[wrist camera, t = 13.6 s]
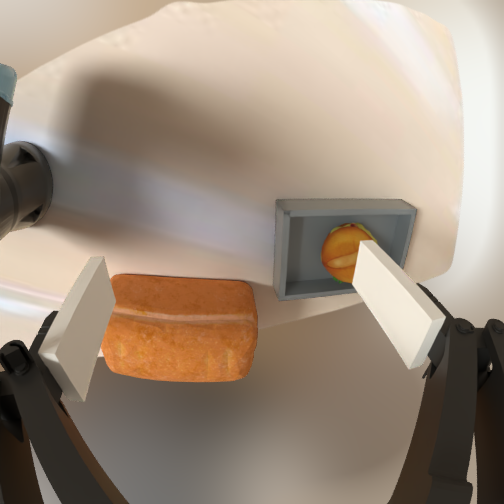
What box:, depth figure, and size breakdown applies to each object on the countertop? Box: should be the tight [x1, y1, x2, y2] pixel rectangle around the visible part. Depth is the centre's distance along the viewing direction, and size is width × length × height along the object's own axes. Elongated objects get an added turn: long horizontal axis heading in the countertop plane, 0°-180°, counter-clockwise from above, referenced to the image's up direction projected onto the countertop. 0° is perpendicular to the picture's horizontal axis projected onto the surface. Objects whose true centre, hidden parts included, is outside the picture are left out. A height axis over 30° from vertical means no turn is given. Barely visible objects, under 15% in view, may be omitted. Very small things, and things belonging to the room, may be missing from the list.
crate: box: [273, 199, 417, 301], centre depth 50 cm, size 24×16×5 cm, turn 90°
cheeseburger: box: [321, 223, 378, 283], centre depth 48 cm, size 10×11×10 cm
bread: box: [101, 274, 258, 382], centre depth 47 cm, size 14×26×16 cm, turn 82°
